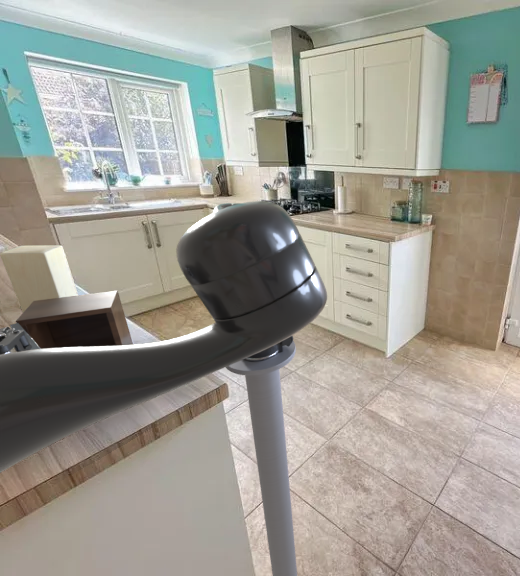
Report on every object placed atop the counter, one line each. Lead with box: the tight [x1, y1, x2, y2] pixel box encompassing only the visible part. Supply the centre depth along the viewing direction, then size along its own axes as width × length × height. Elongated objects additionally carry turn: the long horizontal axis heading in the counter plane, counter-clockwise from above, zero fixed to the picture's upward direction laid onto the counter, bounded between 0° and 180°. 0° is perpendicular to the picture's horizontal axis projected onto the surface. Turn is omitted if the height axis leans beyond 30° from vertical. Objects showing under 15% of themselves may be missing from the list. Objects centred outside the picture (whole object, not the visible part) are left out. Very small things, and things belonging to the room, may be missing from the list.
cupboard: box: [15, 290, 134, 349], centre depth 66 cm, size 9×13×15 cm
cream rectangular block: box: [0, 244, 79, 313], centre depth 77 cm, size 8×7×21 cm
